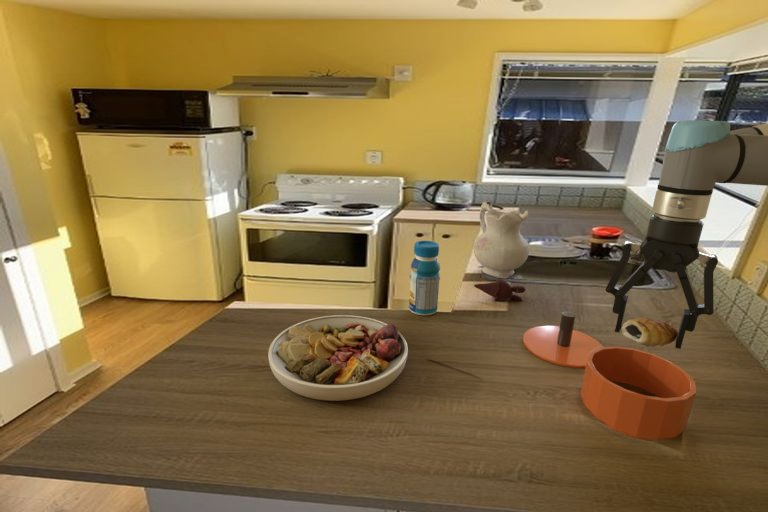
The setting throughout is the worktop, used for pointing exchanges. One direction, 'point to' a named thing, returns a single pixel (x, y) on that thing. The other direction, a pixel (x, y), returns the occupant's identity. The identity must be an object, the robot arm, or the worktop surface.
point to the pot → (632, 408)
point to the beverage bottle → (424, 278)
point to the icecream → (501, 290)
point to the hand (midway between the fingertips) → (646, 336)
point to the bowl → (338, 357)
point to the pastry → (649, 331)
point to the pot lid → (561, 343)
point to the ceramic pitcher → (501, 242)
